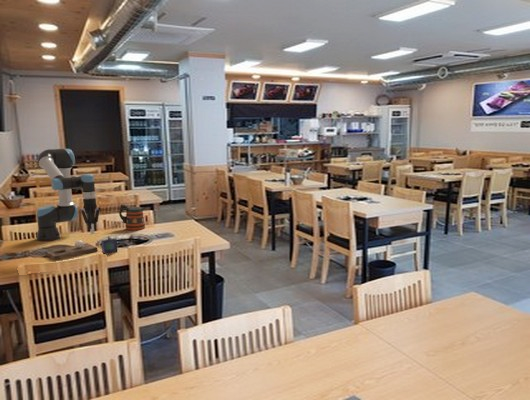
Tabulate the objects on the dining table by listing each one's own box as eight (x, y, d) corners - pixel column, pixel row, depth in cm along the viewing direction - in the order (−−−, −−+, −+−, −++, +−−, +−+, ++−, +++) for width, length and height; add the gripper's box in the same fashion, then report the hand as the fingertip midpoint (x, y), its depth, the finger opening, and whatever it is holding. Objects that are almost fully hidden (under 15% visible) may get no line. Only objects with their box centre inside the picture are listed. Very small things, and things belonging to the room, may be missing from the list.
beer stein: (119, 231, 317) (118, 206, 314) (120, 227, 331) (118, 203, 328) (145, 229, 323) (143, 204, 319) (145, 225, 336) (143, 201, 333)
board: (45, 255, 258) (45, 251, 257) (87, 246, 276) (86, 243, 276) (55, 260, 247) (54, 256, 246) (97, 251, 265) (97, 247, 265)
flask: (102, 254, 259) (101, 237, 257) (102, 253, 261) (100, 236, 260) (117, 252, 263) (116, 236, 261) (117, 251, 265) (116, 235, 264)
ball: (74, 247, 265) (73, 240, 264) (81, 246, 268) (81, 238, 267) (77, 249, 261) (76, 241, 260) (85, 247, 265) (84, 240, 264)
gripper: (81, 199, 259) (84, 236, 262) (101, 197, 268) (104, 232, 272) (76, 198, 264) (80, 234, 267) (96, 196, 273) (99, 230, 277)
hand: (92, 233), depth 269 cm, fingers closed
